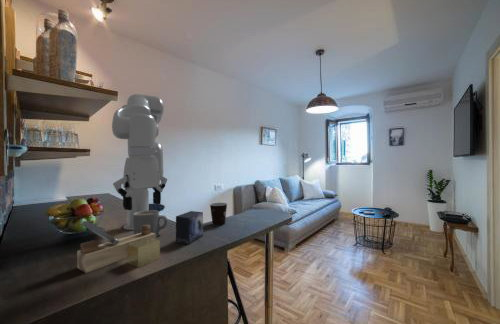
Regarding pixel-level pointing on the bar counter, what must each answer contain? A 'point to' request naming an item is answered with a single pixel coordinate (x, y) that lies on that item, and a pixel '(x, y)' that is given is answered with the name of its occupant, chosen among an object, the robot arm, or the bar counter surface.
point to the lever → (100, 232)
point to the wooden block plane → (107, 251)
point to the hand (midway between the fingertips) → (143, 206)
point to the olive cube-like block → (143, 251)
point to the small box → (189, 227)
